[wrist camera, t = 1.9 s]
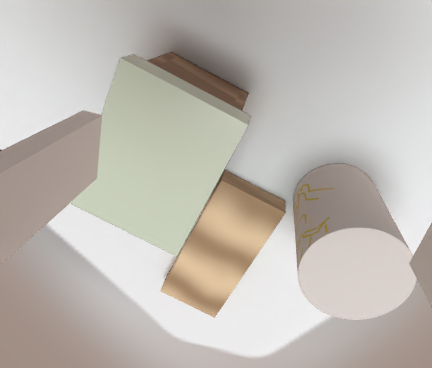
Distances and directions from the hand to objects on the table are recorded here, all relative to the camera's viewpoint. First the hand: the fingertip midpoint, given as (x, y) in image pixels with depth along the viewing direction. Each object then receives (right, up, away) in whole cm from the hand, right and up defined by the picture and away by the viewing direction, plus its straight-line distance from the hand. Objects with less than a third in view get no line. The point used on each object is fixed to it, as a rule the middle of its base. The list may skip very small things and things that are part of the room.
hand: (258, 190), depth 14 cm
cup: (+10, -1, +24) cm, 26 cm away
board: (-1, -6, +27) cm, 28 cm away
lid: (-6, +3, +16) cm, 17 cm away
